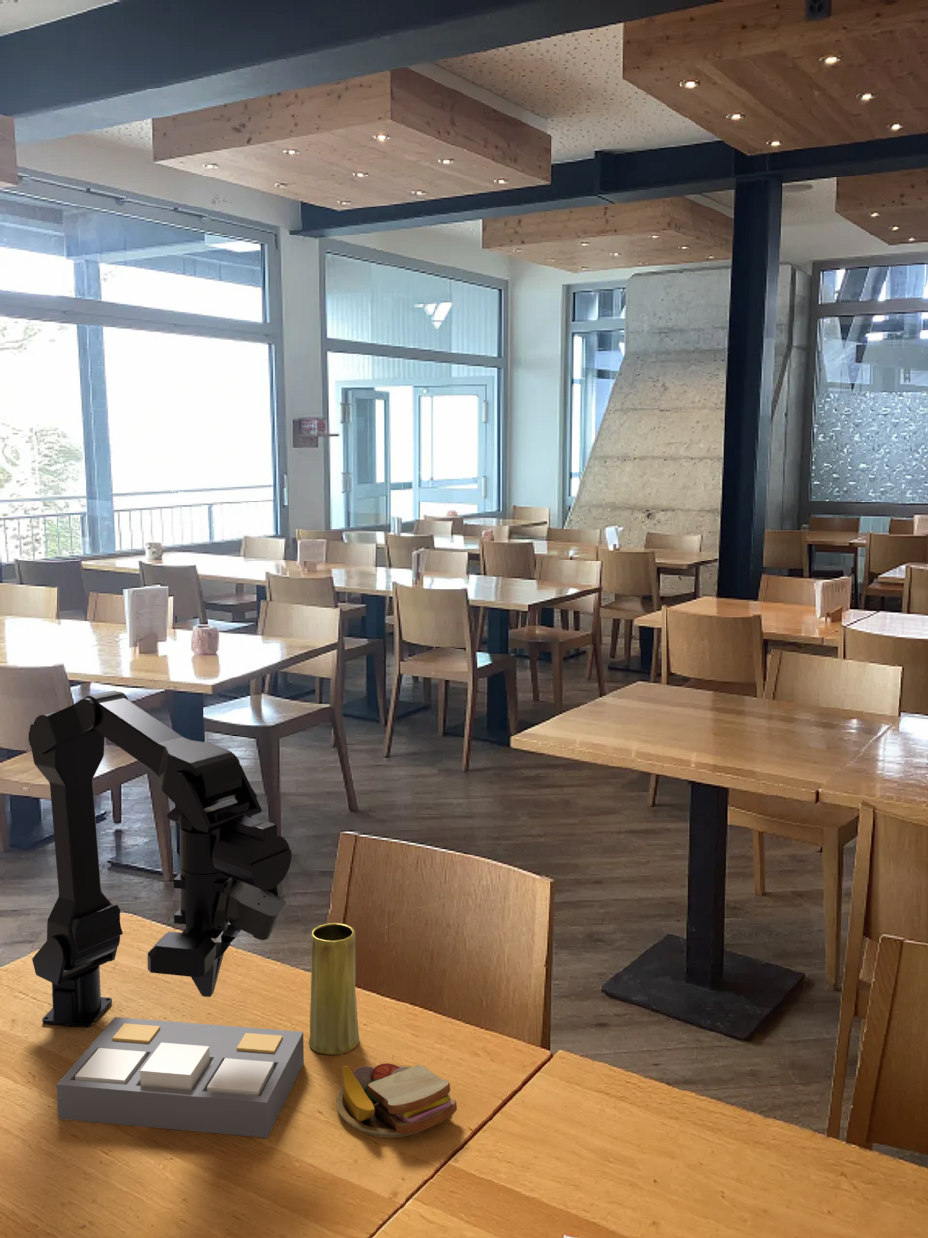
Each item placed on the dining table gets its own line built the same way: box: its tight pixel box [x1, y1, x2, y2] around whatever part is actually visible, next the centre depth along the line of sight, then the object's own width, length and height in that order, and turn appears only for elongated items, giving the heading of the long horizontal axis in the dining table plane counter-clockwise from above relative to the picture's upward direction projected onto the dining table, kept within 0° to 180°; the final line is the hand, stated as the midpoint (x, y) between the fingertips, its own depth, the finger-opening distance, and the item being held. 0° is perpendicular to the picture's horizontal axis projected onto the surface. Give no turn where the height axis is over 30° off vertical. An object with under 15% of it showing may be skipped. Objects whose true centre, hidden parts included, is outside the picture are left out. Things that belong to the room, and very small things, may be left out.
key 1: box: [75, 1048, 146, 1085], centre depth 117 cm, size 6×6×2 cm
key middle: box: [140, 1043, 210, 1090], centre depth 116 cm, size 6×6×2 cm
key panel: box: [55, 1016, 305, 1139], centre depth 119 cm, size 23×14×4 cm, turn 83°
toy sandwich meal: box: [335, 1062, 458, 1138], centre depth 116 cm, size 12×14×5 cm
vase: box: [308, 922, 360, 1056], centre depth 129 cm, size 6×6×14 cm
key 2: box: [207, 1058, 274, 1096], centre depth 115 cm, size 6×6×2 cm
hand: (207, 995), depth 120 cm, fingers closed
